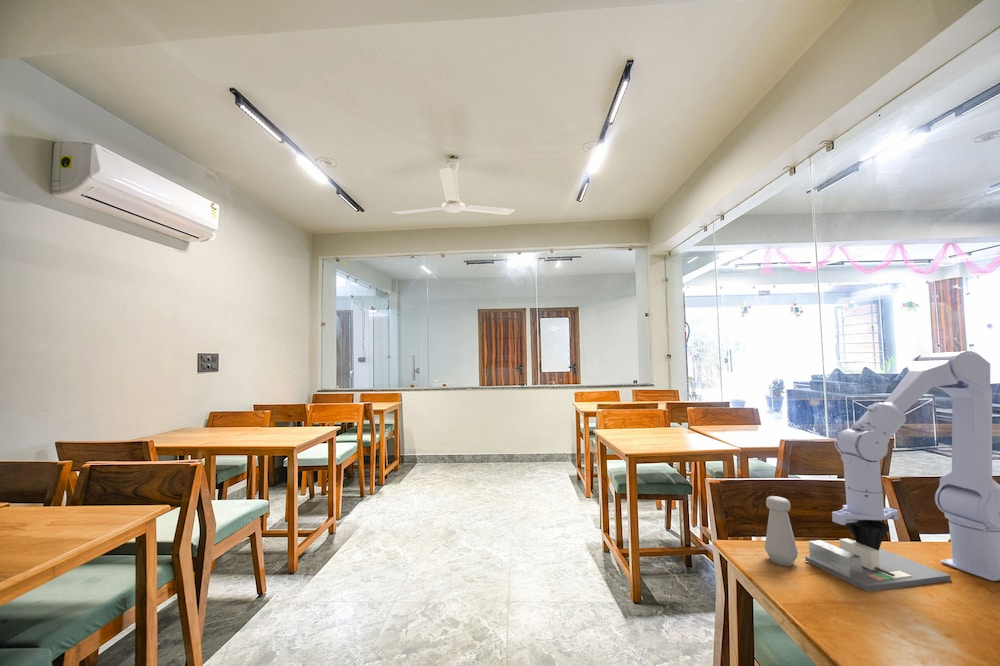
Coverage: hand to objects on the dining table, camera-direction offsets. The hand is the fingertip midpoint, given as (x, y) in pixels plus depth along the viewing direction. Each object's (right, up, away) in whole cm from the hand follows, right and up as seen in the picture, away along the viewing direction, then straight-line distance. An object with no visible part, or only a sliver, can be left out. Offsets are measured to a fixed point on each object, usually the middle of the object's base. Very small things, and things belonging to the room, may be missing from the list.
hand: (868, 557), depth 82 cm
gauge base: (0, -2, -1) cm, 2 cm away
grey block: (-8, -2, -2) cm, 9 cm away
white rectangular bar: (-2, 0, -2) cm, 3 cm away
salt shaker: (-16, -2, +3) cm, 16 cm away
